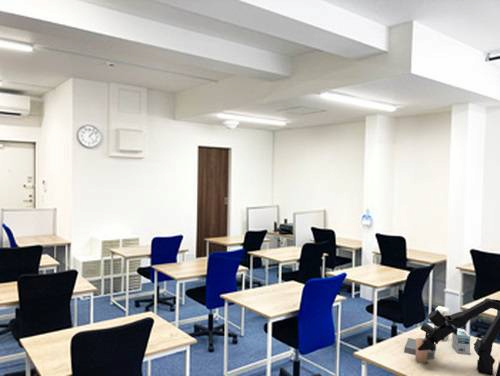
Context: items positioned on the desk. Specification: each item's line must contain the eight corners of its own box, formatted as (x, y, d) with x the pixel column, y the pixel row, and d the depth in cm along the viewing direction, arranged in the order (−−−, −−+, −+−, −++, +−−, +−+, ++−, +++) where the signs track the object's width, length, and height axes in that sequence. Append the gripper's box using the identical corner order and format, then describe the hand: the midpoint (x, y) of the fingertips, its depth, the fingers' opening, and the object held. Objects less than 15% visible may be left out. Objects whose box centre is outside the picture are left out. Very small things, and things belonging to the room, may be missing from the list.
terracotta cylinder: (428, 359, 211) (428, 339, 211) (426, 363, 206) (427, 343, 205) (416, 356, 214) (416, 337, 214) (414, 361, 209) (415, 341, 208)
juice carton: (432, 338, 239) (433, 308, 238) (436, 334, 246) (437, 305, 245) (446, 342, 234) (447, 311, 234) (449, 337, 241) (450, 307, 240)
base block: (435, 348, 225) (436, 343, 225) (433, 359, 212) (433, 353, 212) (408, 342, 232) (408, 337, 232) (404, 352, 219) (404, 347, 219)
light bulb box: (470, 354, 218) (470, 336, 218) (457, 353, 219) (457, 334, 219) (463, 346, 229) (464, 328, 228) (451, 345, 230) (452, 327, 230)
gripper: (432, 314, 215) (410, 329, 221) (428, 324, 199) (405, 341, 205) (447, 331, 211) (425, 346, 217) (445, 343, 195) (421, 359, 201)
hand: (418, 347), depth 210 cm, fingers closed on terracotta cylinder, 6 cm apart
